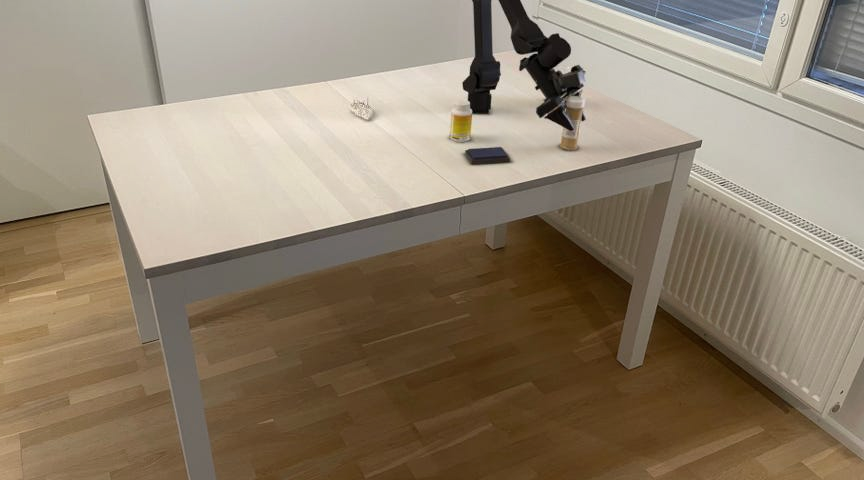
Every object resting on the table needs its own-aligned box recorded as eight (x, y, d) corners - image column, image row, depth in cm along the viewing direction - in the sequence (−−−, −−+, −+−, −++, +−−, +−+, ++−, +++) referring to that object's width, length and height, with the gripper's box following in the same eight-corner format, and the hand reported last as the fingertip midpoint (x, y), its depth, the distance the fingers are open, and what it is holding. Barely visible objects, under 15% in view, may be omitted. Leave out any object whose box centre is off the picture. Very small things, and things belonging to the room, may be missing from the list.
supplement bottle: (473, 141, 194) (476, 104, 189) (455, 143, 193) (457, 107, 187) (464, 133, 199) (467, 97, 193) (446, 136, 197) (448, 100, 191)
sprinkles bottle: (579, 146, 192) (588, 97, 184) (572, 152, 189) (581, 102, 181) (563, 142, 194) (571, 94, 187) (556, 148, 191) (564, 99, 183)
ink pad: (471, 164, 182) (471, 158, 181) (464, 154, 187) (465, 148, 186) (509, 162, 183) (510, 156, 182) (501, 151, 189) (502, 145, 188)
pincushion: (377, 120, 206) (377, 101, 203) (356, 122, 205) (356, 103, 202) (364, 105, 216) (364, 87, 213) (345, 107, 214) (344, 89, 211)
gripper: (554, 66, 173) (590, 120, 174) (582, 48, 186) (616, 98, 187) (520, 92, 181) (555, 143, 182) (549, 72, 194) (582, 120, 195)
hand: (578, 125), depth 187 cm, fingers open, 8 cm apart
